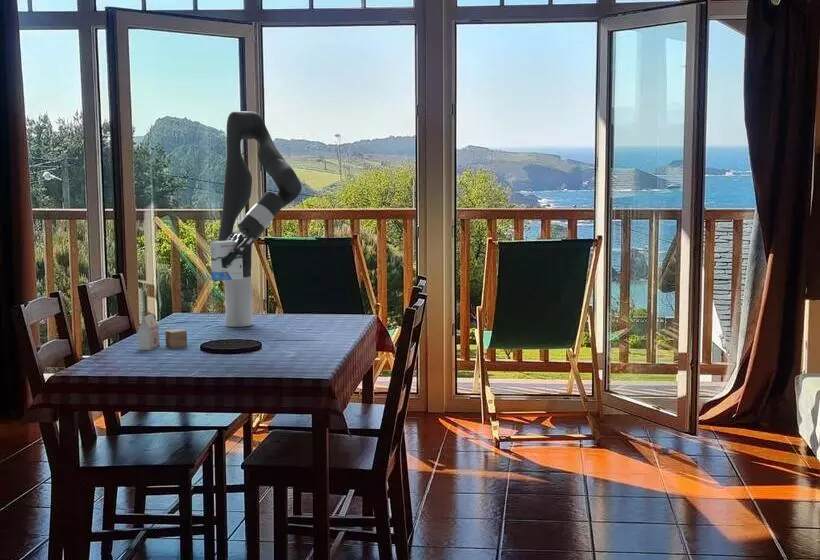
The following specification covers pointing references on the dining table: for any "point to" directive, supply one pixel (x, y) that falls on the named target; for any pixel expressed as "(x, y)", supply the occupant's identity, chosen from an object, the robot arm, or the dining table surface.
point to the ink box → (219, 267)
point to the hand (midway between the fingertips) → (221, 262)
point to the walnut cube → (176, 338)
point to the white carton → (148, 333)
